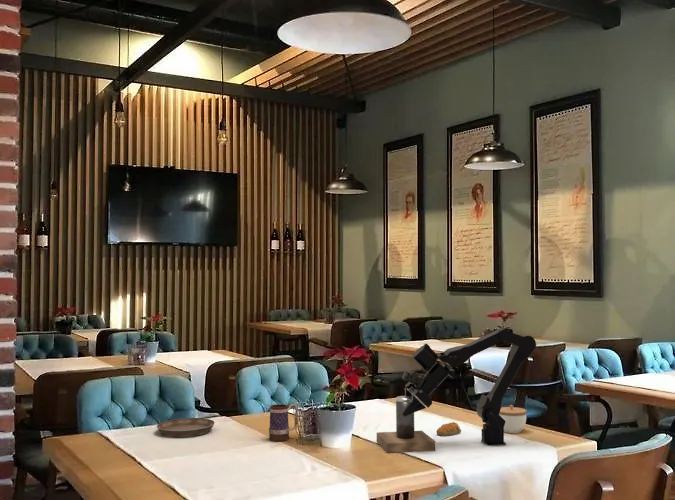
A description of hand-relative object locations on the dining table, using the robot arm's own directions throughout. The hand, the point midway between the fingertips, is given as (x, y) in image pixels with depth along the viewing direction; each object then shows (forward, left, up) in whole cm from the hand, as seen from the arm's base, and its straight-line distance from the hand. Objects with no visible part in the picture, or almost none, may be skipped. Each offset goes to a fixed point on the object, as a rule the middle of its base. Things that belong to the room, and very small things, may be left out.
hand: (400, 412), depth 246 cm
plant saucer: (+72, -35, -12) cm, 80 cm away
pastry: (-21, -15, -12) cm, 28 cm away
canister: (-2, 0, -8) cm, 8 cm away
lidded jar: (-44, -14, -11) cm, 48 cm away
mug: (+38, -17, -11) cm, 43 cm away
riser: (-1, 0, -11) cm, 11 cm away
